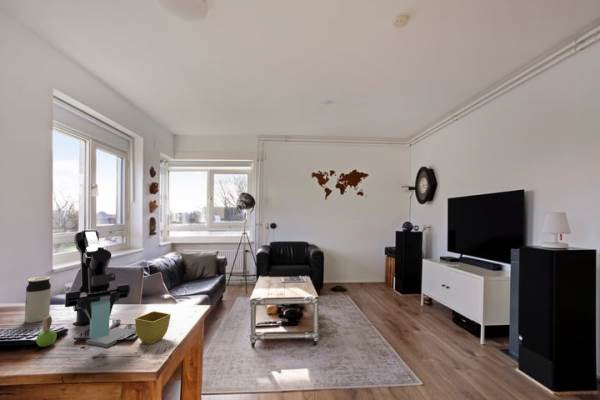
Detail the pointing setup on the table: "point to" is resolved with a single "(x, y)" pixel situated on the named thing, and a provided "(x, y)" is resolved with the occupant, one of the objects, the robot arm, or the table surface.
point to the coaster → (109, 337)
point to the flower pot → (152, 326)
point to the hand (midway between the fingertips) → (100, 316)
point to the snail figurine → (46, 333)
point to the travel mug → (37, 299)
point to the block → (99, 319)
